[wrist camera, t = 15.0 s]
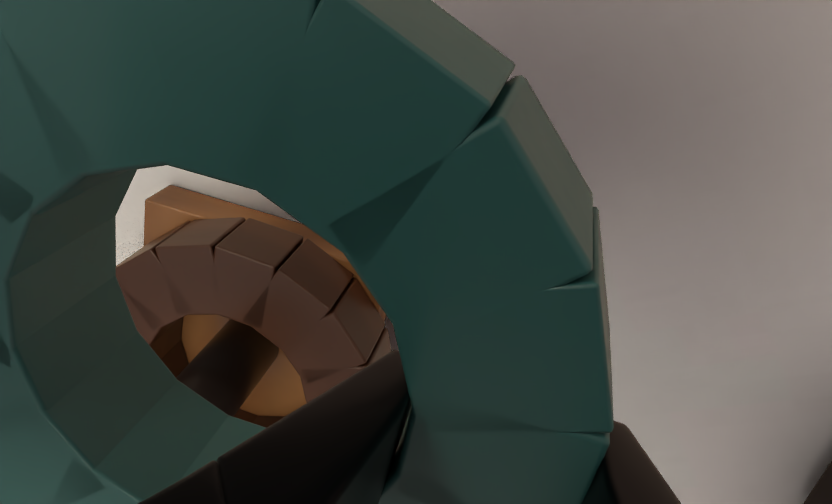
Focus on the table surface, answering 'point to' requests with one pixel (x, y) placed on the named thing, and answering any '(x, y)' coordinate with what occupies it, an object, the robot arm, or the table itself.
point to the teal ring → (319, 211)
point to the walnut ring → (255, 298)
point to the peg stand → (228, 339)
